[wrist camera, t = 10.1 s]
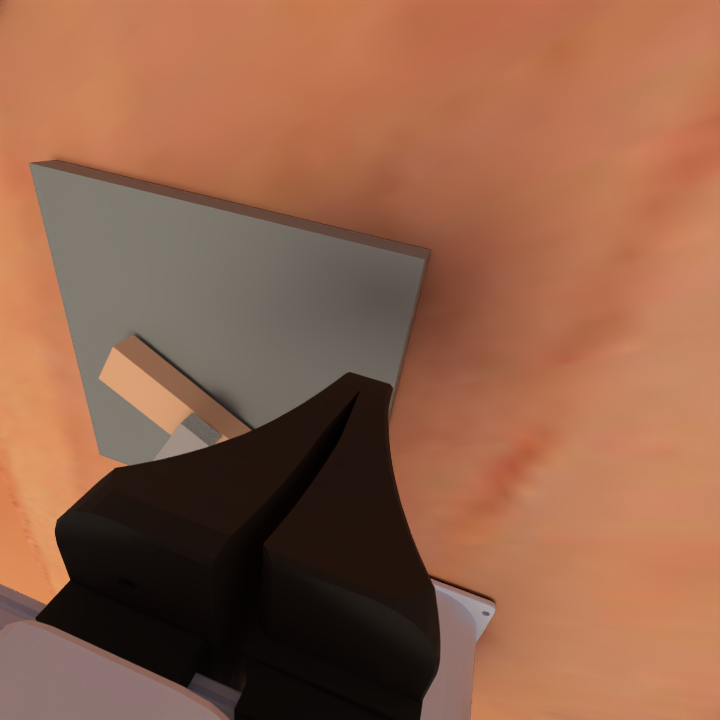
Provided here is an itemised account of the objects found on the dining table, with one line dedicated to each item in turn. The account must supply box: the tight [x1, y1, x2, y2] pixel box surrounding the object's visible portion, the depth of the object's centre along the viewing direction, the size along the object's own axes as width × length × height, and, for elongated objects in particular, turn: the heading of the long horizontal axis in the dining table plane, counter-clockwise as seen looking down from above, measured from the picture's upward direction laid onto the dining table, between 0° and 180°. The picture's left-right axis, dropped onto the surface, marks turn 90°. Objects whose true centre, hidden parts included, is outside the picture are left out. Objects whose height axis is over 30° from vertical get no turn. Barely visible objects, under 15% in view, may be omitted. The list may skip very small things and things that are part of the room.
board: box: [29, 160, 430, 466], centre depth 25 cm, size 20×20×2 cm
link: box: [99, 335, 252, 444], centre depth 24 cm, size 15×4×4 cm, turn 52°
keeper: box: [153, 412, 222, 461], centre depth 25 cm, size 2×5×4 cm, turn 141°
